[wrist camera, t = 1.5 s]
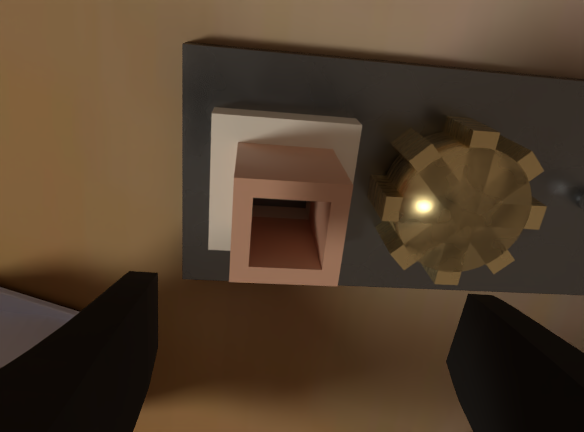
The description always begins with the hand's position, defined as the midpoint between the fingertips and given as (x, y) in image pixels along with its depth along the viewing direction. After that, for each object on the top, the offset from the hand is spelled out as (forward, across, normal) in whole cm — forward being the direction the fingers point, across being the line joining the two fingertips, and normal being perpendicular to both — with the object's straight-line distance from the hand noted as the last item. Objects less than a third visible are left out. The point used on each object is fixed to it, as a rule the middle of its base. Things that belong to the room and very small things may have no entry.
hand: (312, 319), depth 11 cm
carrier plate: (+10, -7, 0) cm, 12 cm away
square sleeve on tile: (+9, 0, 0) cm, 9 cm away
